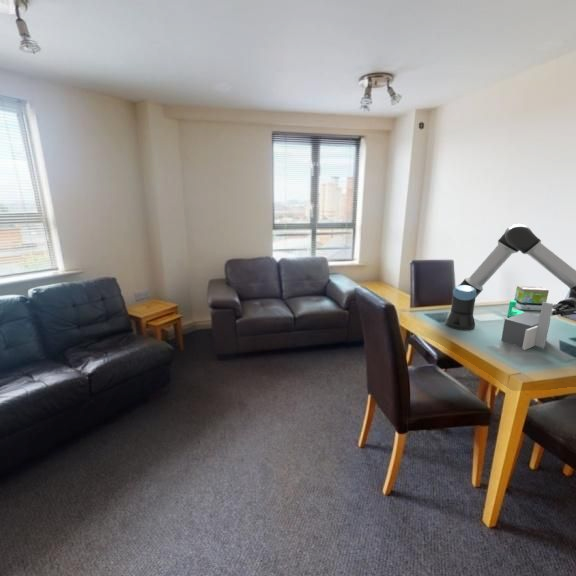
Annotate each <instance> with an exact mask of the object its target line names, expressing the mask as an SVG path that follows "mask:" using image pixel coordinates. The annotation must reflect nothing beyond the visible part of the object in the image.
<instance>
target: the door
mask: <svg viewBox="0 0 576 576" xmlns="http://www.w3.org/2000/svg"><path fill="white" fill-rule="evenodd" d="M553 305H554V303H550V302H547V301H546V302H543V303H542V308H541V311H540V312H539V313H540V314H539V316H540V318H539V323H538V326H534V327H531V328H529V329H526V331H525V336H524V342H523V347H521V349H522V350H524V351H526V350H527V349H530V348H532V347H535V346H536V347H540V348H545V345H546V341H547V338H546V336H547V337H548V333H547V331H548V332H549V329H548V326H549V327H550V324H549V321H550V322H551V317H552V316H551V312H552V307H553Z"/></svg>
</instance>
